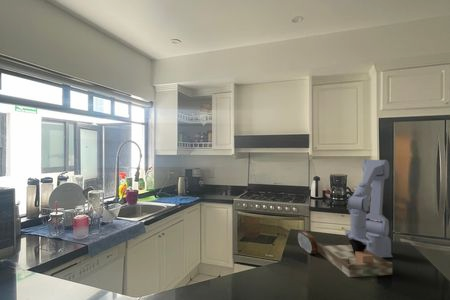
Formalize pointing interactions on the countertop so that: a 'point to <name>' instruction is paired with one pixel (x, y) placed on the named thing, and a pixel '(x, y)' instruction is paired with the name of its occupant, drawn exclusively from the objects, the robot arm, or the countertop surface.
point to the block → (363, 257)
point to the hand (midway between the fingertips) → (358, 258)
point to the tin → (307, 242)
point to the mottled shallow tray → (346, 261)
